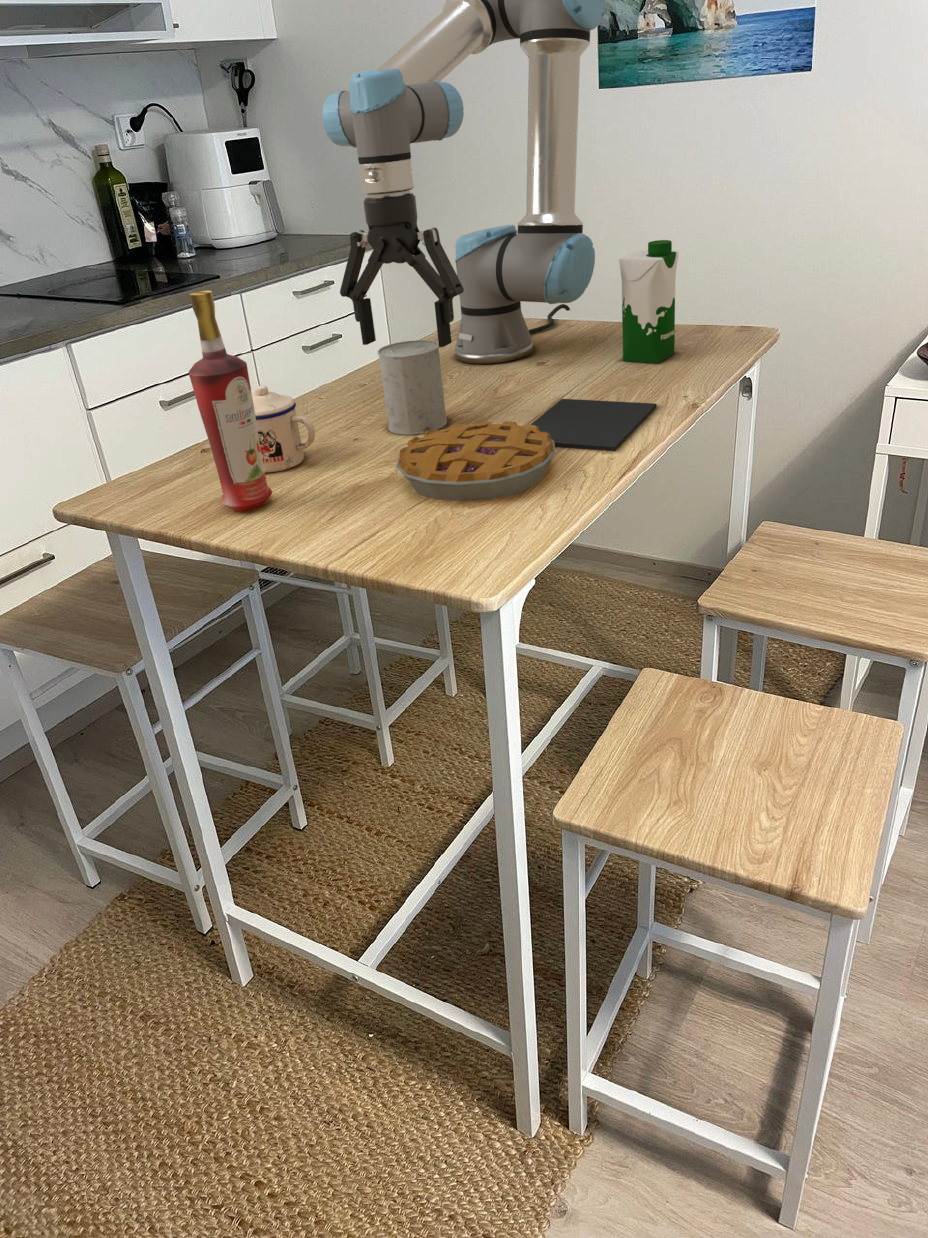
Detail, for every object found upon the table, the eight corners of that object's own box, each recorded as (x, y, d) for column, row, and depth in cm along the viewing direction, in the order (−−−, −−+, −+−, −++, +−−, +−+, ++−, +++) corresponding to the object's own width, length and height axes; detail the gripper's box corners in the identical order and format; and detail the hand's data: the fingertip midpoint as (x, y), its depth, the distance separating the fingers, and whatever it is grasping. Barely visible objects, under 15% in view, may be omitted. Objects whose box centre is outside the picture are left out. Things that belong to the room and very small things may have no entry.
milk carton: (660, 365, 168) (661, 246, 158) (615, 361, 173) (613, 246, 163) (681, 352, 174) (683, 237, 164) (637, 349, 179) (636, 237, 169)
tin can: (439, 433, 147) (430, 354, 141) (381, 435, 149) (370, 357, 143) (452, 414, 155) (444, 338, 149) (397, 416, 157) (387, 341, 151)
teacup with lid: (234, 473, 140) (217, 396, 134) (264, 451, 148) (249, 377, 142) (306, 475, 136) (291, 396, 131) (333, 453, 144) (320, 377, 138)
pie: (379, 506, 123) (373, 470, 121) (422, 448, 142) (418, 416, 139) (544, 506, 118) (541, 469, 116) (567, 446, 136) (565, 412, 134)
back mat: (561, 402, 155) (561, 398, 155) (656, 407, 148) (656, 403, 148) (512, 443, 140) (511, 439, 140) (615, 451, 133) (615, 447, 133)
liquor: (252, 491, 133) (206, 285, 119) (286, 500, 129) (243, 287, 115) (211, 509, 128) (158, 297, 115) (244, 519, 124) (193, 301, 110)
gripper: (302, 201, 137) (326, 347, 148) (453, 193, 127) (467, 352, 137) (331, 194, 143) (352, 336, 153) (478, 186, 132) (489, 339, 143)
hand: (406, 343), depth 145 cm, fingers open, 13 cm apart
